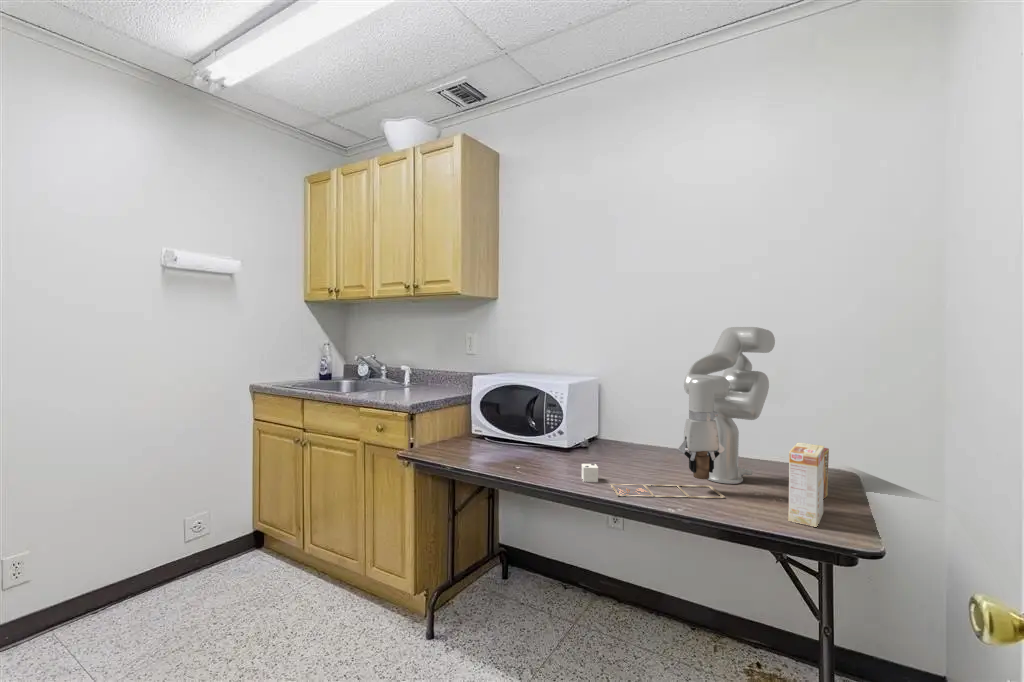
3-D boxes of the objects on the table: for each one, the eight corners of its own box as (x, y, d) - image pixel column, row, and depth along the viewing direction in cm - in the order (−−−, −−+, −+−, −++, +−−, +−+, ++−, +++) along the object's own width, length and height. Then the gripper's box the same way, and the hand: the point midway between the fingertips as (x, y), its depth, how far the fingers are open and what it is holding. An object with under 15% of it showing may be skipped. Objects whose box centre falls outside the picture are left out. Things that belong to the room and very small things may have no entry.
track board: (710, 486, 158) (710, 485, 158) (726, 498, 146) (726, 497, 146) (610, 485, 158) (610, 483, 158) (617, 496, 146) (617, 495, 146)
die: (595, 478, 166) (595, 463, 166) (598, 482, 161) (598, 467, 161) (581, 477, 166) (581, 463, 166) (583, 482, 161) (583, 467, 161)
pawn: (705, 474, 155) (705, 443, 155) (711, 479, 150) (711, 447, 150) (691, 474, 155) (691, 444, 155) (696, 479, 150) (696, 447, 150)
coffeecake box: (795, 507, 140) (796, 441, 139) (824, 513, 135) (825, 445, 135) (786, 522, 128) (787, 450, 128) (817, 529, 124) (819, 455, 123)
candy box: (812, 492, 153) (813, 445, 153) (828, 495, 150) (829, 448, 150) (806, 499, 147) (807, 450, 146) (822, 502, 144) (823, 452, 144)
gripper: (722, 413, 155) (722, 467, 156) (671, 414, 156) (671, 468, 156) (733, 418, 148) (732, 475, 149) (679, 418, 148) (679, 475, 149)
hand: (701, 470), depth 153 cm, fingers closed on pawn, 4 cm apart
